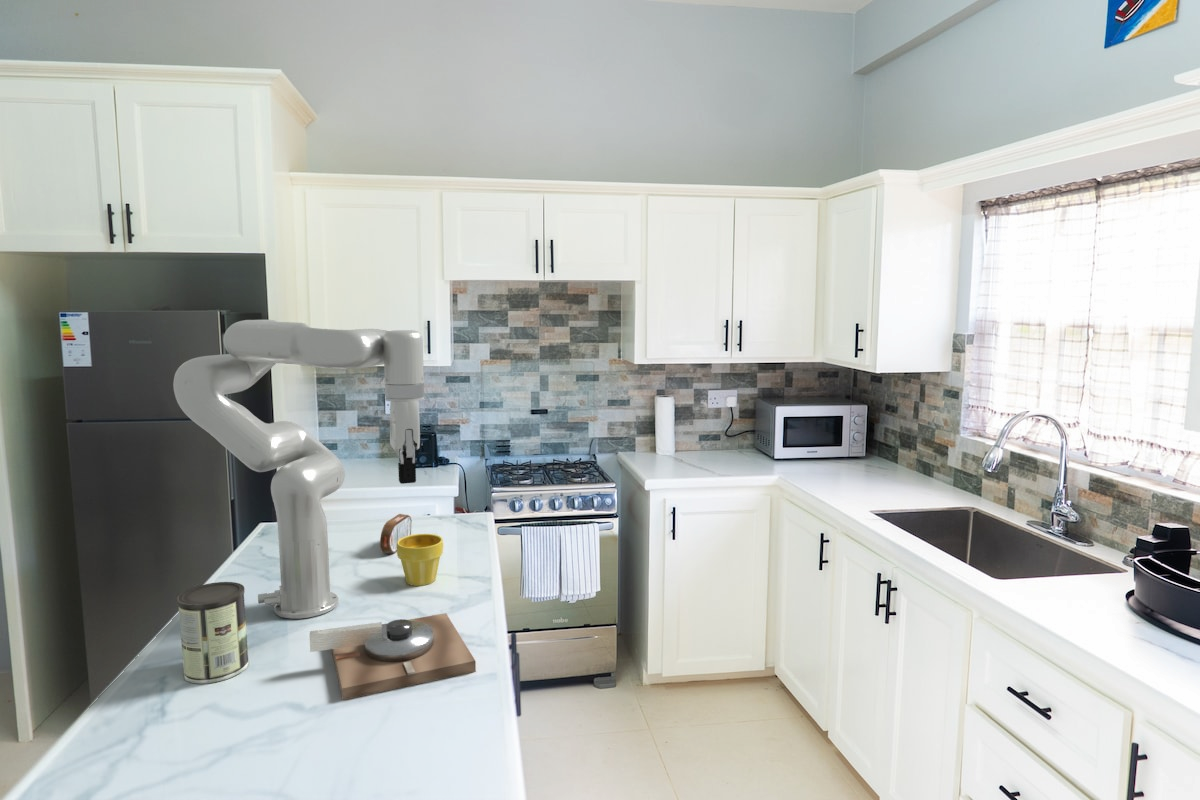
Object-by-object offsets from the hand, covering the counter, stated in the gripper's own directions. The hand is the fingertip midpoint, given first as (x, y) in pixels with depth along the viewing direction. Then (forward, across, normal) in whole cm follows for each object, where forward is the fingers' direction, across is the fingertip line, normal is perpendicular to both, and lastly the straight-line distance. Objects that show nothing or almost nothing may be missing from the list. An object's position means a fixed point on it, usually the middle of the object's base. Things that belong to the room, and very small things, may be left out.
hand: (407, 482), depth 147 cm
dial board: (+28, +18, -4) cm, 34 cm away
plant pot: (+28, -18, +5) cm, 34 cm away
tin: (+28, -44, +2) cm, 52 cm away
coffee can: (+28, +11, -35) cm, 46 cm away
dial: (+26, +18, -9) cm, 33 cm away
